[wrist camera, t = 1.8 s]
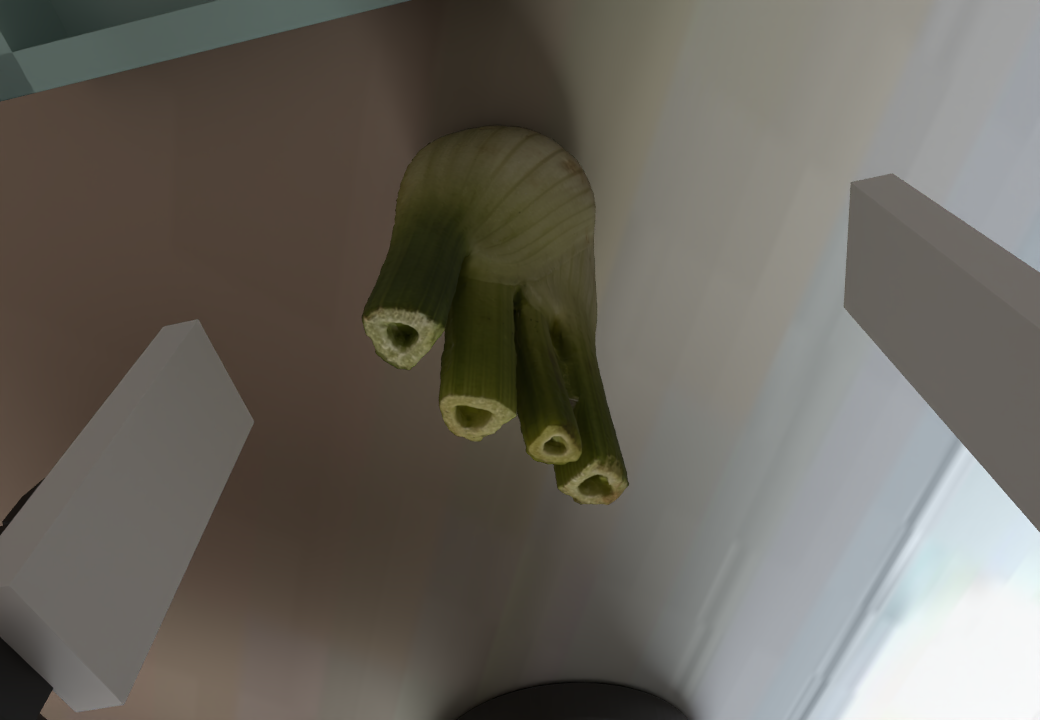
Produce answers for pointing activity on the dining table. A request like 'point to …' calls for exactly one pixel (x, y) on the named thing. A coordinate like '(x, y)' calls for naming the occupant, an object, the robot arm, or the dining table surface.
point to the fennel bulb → (503, 298)
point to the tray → (137, 33)
